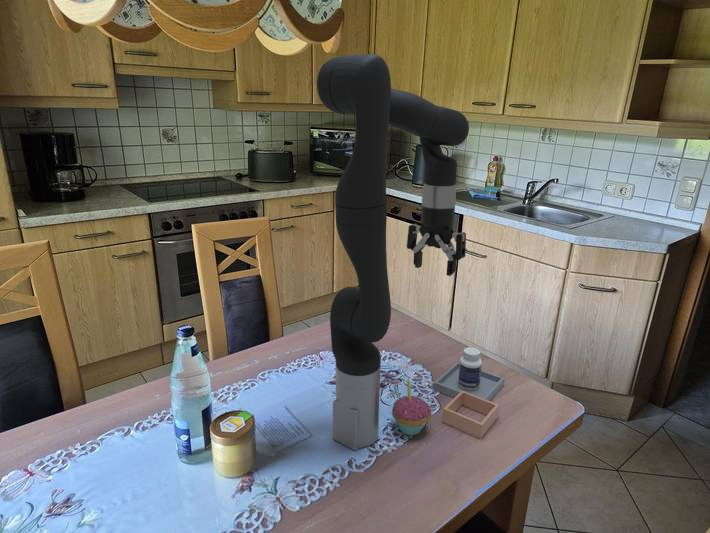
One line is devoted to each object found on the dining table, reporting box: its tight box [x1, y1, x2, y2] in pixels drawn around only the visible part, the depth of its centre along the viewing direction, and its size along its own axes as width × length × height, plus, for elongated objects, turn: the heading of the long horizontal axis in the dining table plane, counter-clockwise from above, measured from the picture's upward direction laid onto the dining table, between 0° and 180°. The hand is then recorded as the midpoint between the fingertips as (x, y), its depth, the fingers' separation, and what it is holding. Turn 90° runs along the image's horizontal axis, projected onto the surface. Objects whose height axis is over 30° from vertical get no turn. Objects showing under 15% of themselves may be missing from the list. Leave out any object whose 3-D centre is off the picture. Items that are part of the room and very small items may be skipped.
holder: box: [442, 391, 500, 440], centre depth 109 cm, size 9×9×4 cm
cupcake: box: [391, 376, 432, 436], centre depth 105 cm, size 9×8×12 cm
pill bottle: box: [458, 346, 483, 390], centre depth 120 cm, size 5×5×10 cm
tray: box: [433, 361, 505, 402], centre depth 122 cm, size 13×13×2 cm
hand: (433, 270), depth 115 cm, fingers open, 8 cm apart
